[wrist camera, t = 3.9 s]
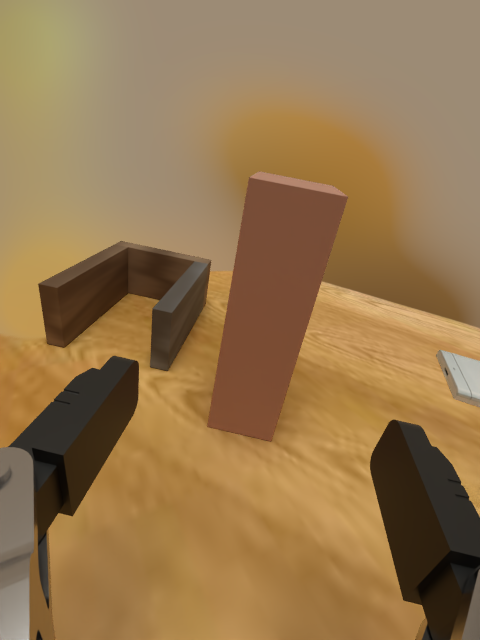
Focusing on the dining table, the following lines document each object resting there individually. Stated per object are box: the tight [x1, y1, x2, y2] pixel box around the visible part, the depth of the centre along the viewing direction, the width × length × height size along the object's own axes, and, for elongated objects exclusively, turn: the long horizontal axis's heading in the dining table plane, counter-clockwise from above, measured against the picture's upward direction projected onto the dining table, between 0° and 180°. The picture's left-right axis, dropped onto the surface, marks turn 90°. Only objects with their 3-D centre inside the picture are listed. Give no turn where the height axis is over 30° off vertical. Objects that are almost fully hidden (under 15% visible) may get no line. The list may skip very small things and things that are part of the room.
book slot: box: [38, 241, 211, 371], centre depth 31 cm, size 10×14×6 cm
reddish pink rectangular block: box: [207, 172, 348, 441], centre depth 20 cm, size 4×6×16 cm
